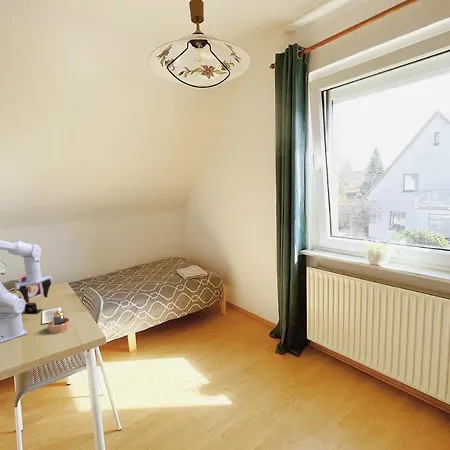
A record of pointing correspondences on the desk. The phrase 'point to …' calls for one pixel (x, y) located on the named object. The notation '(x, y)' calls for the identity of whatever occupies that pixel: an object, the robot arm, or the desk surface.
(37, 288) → the greeting card
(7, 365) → the desk surface
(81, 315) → the desk surface
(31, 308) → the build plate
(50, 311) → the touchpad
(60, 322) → the battery
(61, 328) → the peach round shallow bowl
